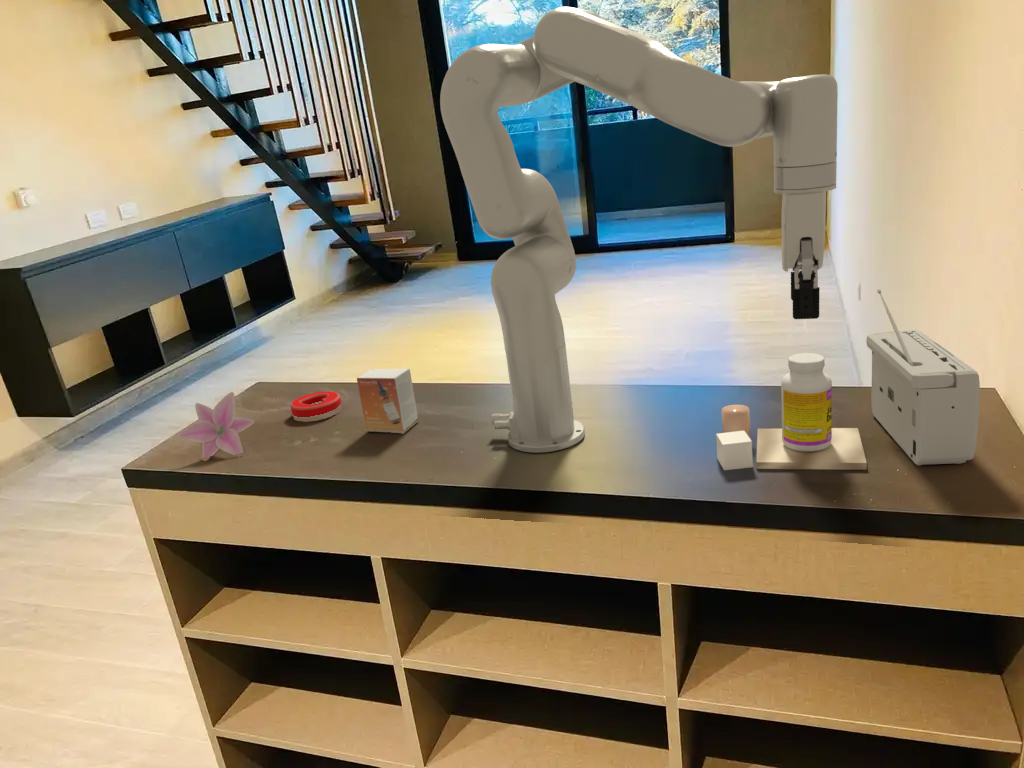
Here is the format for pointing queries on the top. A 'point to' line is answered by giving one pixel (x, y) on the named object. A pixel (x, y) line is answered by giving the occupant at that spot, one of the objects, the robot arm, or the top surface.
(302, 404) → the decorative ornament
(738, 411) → the peach rounded capsule
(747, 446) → the off-white block
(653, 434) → the top surface
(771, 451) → the ash board
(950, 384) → the stereo radio cassette player
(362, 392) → the small box
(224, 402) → the lily
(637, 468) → the top surface
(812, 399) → the supplement bottle
